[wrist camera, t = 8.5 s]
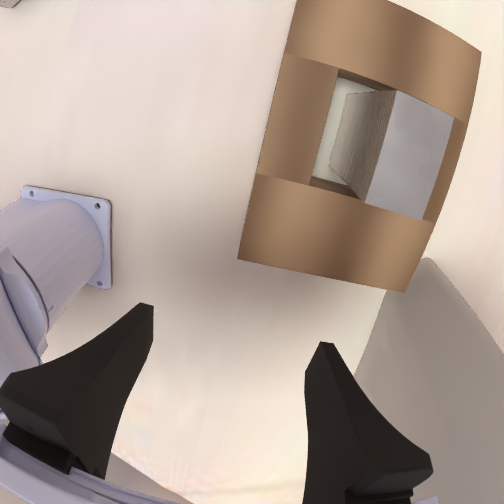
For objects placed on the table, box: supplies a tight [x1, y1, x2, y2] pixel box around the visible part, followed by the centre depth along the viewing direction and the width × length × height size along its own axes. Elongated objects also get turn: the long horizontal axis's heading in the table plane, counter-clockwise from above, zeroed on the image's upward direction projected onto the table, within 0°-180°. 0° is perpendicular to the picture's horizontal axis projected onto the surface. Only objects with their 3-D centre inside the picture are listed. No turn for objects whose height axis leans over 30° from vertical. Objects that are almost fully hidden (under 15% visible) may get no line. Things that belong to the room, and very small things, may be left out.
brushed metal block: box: [329, 90, 454, 220], centre depth 15 cm, size 3×5×8 cm, turn 168°
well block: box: [237, 0, 482, 293], centre depth 17 cm, size 12×18×3 cm, turn 168°
